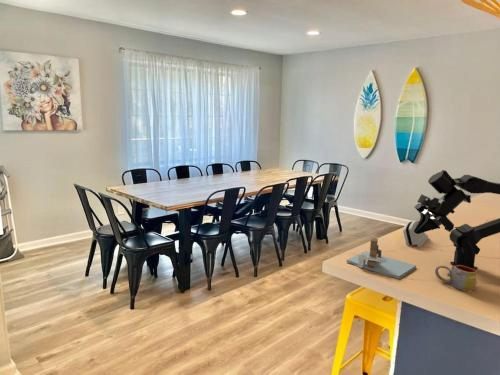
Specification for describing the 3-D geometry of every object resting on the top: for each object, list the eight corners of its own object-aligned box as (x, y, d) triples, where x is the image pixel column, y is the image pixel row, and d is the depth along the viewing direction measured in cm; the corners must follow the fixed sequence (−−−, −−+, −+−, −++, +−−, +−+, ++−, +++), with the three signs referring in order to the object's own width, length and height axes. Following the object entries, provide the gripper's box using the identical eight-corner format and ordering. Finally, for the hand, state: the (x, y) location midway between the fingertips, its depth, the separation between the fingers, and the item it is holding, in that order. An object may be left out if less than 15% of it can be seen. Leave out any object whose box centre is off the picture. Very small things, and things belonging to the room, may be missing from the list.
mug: (477, 287, 120) (480, 267, 119) (473, 294, 115) (475, 274, 114) (437, 277, 128) (439, 258, 127) (431, 283, 123) (433, 264, 122)
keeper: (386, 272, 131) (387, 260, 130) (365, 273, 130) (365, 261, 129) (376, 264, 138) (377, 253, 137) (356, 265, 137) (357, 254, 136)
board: (415, 268, 135) (416, 265, 135) (398, 279, 125) (398, 276, 125) (365, 253, 149) (365, 251, 149) (346, 262, 139) (346, 259, 139)
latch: (370, 252, 146) (372, 231, 144) (381, 254, 144) (383, 233, 142) (364, 265, 133) (366, 242, 131) (376, 267, 131) (378, 244, 129)
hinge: (418, 248, 156) (412, 224, 157) (407, 249, 159) (401, 226, 160) (428, 238, 169) (422, 217, 169) (418, 239, 172) (412, 218, 172)
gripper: (421, 182, 141) (390, 211, 143) (448, 192, 123) (412, 225, 125) (440, 202, 143) (409, 230, 145) (469, 215, 125) (433, 247, 127)
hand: (415, 232), depth 135 cm, fingers closed
